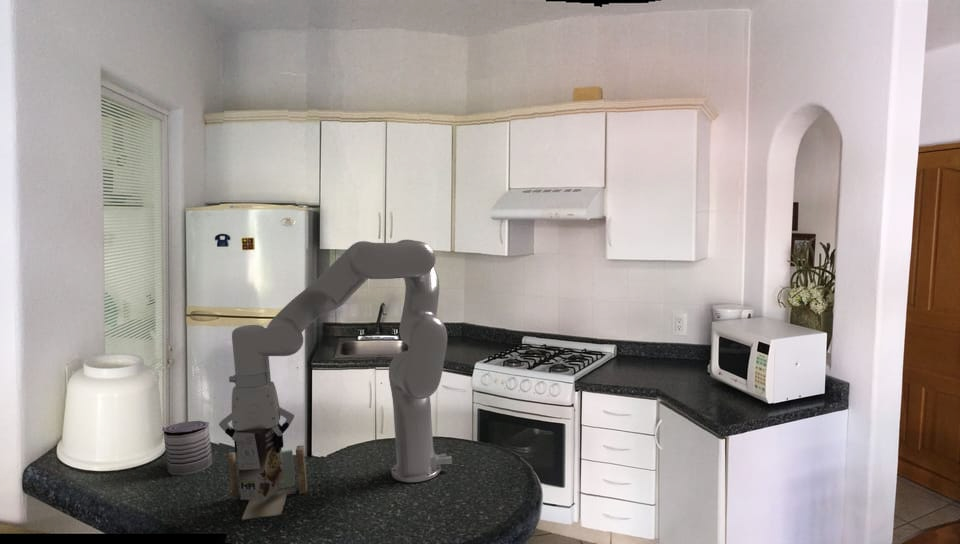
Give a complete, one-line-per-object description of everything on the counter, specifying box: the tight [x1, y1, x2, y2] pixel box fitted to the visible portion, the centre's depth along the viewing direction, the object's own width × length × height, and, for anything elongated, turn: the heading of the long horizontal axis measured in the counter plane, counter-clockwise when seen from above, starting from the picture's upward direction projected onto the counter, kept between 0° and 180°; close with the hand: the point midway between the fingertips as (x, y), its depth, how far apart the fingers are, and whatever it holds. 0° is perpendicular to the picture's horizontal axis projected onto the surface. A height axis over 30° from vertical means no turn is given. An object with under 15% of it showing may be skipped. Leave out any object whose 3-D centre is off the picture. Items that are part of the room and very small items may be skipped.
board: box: [241, 494, 288, 521], centre depth 150 cm, size 8×10×1 cm
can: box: [161, 420, 213, 476], centre depth 176 cm, size 11×11×12 cm
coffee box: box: [235, 428, 284, 501], centre depth 149 cm, size 9×6×16 cm
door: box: [278, 449, 296, 490], centre depth 157 cm, size 12×1×9 cm, turn 105°
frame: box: [227, 444, 308, 501], centre depth 156 cm, size 18×3×11 cm, turn 99°
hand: (260, 452), depth 149 cm, fingers closed on coffee box, 7 cm apart
